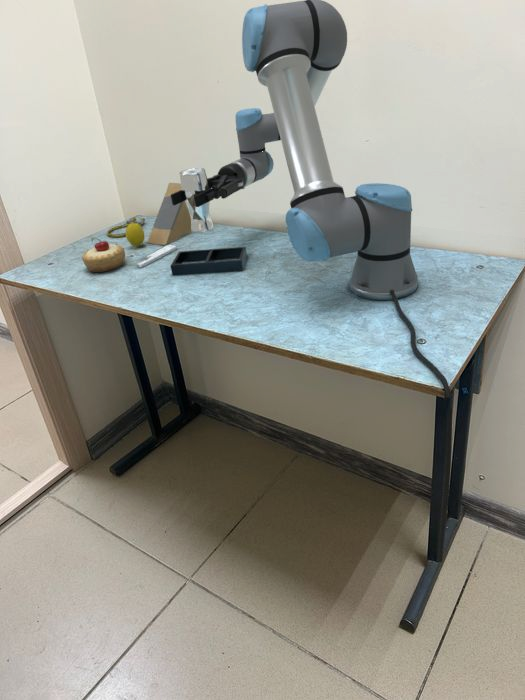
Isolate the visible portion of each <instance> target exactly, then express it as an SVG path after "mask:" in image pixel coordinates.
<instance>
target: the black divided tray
mask: <svg viewBox="0 0 525 700" xmlns="http://www.w3.org/2000/svg"><path fill="white" fill-rule="evenodd" d="M247 259H248V250H247V246H236V247H235V246H234V247H222V248H208V249H196V250H184V251H183V250H181V251H178V252H177V254H176V255H175V257H174V259H173V261H172V262H171V263H170V270H171V275H172V277H174V276H188V275H204V274H217V273H219V274H220V273H231V272H233V273H234V272H243V271H244V269H245V266H246V262H247Z"/></svg>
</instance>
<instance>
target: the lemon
mask: <svg viewBox="0 0 525 700" xmlns="http://www.w3.org/2000/svg"><path fill="white" fill-rule="evenodd" d="M125 233H126V236H125V238H126V240H127V242H128V243H129V244H130V245H131V246H134V247H136V248H140V246H141V245H142V244H143V243H144V242H145V231H144V229H143V227H142V225H139V223H136V222H131V224H129V225H127V227H125Z"/></svg>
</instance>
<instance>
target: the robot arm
mask: <svg viewBox="0 0 525 700" xmlns="http://www.w3.org/2000/svg"><path fill="white" fill-rule="evenodd" d="M241 29H242V31H241V48H242V59H243V64H244V67H245V69H246V71H248V72H251V73H254V72H255V73H256V77H257V81H258V82H259V84H260V85H262V86H264V87H266V88H267V91H268V94H269V99H270V102H271V108H272V111H273V112H270V113H262V110H261V108H258V107H253V108H245V109H241V110H238V111H237V112H236V113H235V131H236V135H237V143H238V150H239V158H238V159H236V160H235V161H232V162H230V163H228V164H226V165H223V166H222V167H220V168H219V170H218V172H217V174H215V175H213V176H211V177H207V180H208V185H209V189H208V190H206V191H204V192H201V193H199V194H197V195H195V196H194V200H195V205H196V207H199V206H201V205H203V204H205V203H207V202H209V201H210V202H211V201H213V200H214V199H215V200H218V199H220V198H221V199H223V200H224V199H227V198H228V197H230V196H231V195H233V194H235V193H237V192H238V191H240V190H245V189H246V187H248V186H250V185H252V184H254V183H256V182H258V181H260V180H263V179H265V178H266V177H267V176H269V175H270V174H271V173H272V171H273V169H274V164H275V163H274V159H273V157H272V154H270V152H268V151H267V150H266V144H268V143H272V142H273V143H274V142H279V141H280V142H281V146H282V149H283V153H284V158H285V161H286V165H287V169H288V173H289V176H290V180H291V184H292V188H293V192H294V193H293V196H292V198H291V199H290V202H289V205H290V208H289V210H287V212H286V214H285V224H286V231H287V234H288V235H287V236H288V238H289V241H290V243H291V245H292V247H293V249H294V250H295V252H296V253H297V255H298V256H299V257H300V258H301V259H302V260H304V261H306V262H316V261H321V260H323V261H326V260H328V259H331V258H335V257H338V256H343V255H348V254H352V253H356V252H357V256H356V260H355V263H354V266H353V269H352V272H351V276H350V279H349V283H350V285H349V286H350V290H351V292H352V293H353V294H355V295H356V296H358V297H361V298H364V299H367V300H374V301H393V303H394V306H395V309H396V311H397V313H398V315H399V316H400V318H401V319H402V321H403V322H404V323H405V325H406V326H407V327H408V330H409V332H410V347H411V349H412V352H413V354H414V355H415V357H417V359H419V360H420V361H421V363H423V364H424V365H426V367H428V368H429V369H430V370H431V371H432V373H433V374H434V375H435V376H436V377H437V378H438V380H439V381H440V382H441V385H442V386H443V390H444V394H445V397H446V398H452V393H451V392H452V391H451V388H450V386H449V382H448V380H447V378H446V377H445V375H444V374H443V373H442V372H441V371H440V370H439V369H438V367H437V366H436V365H435V364H433V363H432V362H431V361H430V360H429V359H428V358H426V357H425V355H423V354H422V353H421V352H420V350H419V348H418V347H417V342H416V329H415V327H414V325H413V323H412V322H411V321H410V319H409V318H408V317H407V315H406V314H405V313H404V311H403V309H402V308H401V305H400V301H399V300H398V299H401V298H405V297H408V296H409V295H411V294H413V293H414V292H415V291H416V290H417V288H418V281H419V280H418V274H417V271H416V268H415V264H414V262H413V259H412V256H411V238H412V237H411V233H412V232H411V231H412V212H413V204H412V194H411V192H410V191H409V189H407V188H405V187H403V186H400V185H398V184H391V183H380V182H379V183H378V182H376V183H372V182H371V183H364V184H360V185H358V186H356V188H355V191H354V194H355V195H352V196H348V197H347V196H346V194H345V191H344V188H343V186H342V185H341V184H339V183H337V182H335V180H334V178H333V174H332V173H333V172H332V169H331V166H330V162H329V158H328V154H327V149H326V146H325V142H324V138H323V134H322V130H321V127H320V123H319V119H318V115H317V111H316V105H317V103H318V100H319V98H320V97H321V94H322V93H323V90H324V88H325V86H326V83H327V82H328V79H329V78H330V75H331V73H332V72H333V71H334V70H336V69H337V68H338V67H339V66H340V64H341V62H342V60H343V59H344V57H345V54H346V51H347V48H348V47H347V46H348V29H347V26H346V23H345V20H344V19H343V16H342V14H341V13H340V12H339V11H338V9H336V7H335V6H333V5H332V4H331V3H329V2H327V1H325V0H298V1H290V2H284V3H275V4H269V5H268V4H267V3H264V4H263V5H260V6H256V7H251V8H249V9H248V10H247V11H246V12H245V14H244V18H243V22H242V28H241ZM262 151H263V152H262ZM171 199H172V204H173V205H177V204H179V203H181V202H183V201H185V200H184V197H183V194H182V189H181V190H180V191H178V192H175V193H173V194H171ZM445 443H446V445H445V447H446V449H445V468H444V470H445V471H444V483H443V496H442V506H441V507H442V508H441V519H440V529H439V541H438V551H437V553H438V554H437V561H438V563H442V562H443V557H444V545H445V536H446V526H447V525H446V524H447V515H448V505H449V496H450V495H449V494H450V484H451V483H450V482H451V472H452V471H451V469H452V448H453V447H452V444H453V408H447V409H446V442H445Z"/></svg>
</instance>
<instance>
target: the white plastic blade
mask: <svg viewBox="0 0 525 700" xmlns="http://www.w3.org/2000/svg"><path fill="white" fill-rule="evenodd" d="M177 249H178V247H177V246H176V245H174V244H172V245H171V244H167V245H164V246H163V247H162V248H160V249H158V250H156V251H154V252H152V253H150V254H147V255H146V256H144V257H142V258H141V260H143V261H140V262H138V263H137V265H136V266H137V267H138V268H144V267H145V266H147V265H149V264H151V263H153V262H154V261H157V260H159V259H161V258H163V257H165V256H167V255H168V254H170V253H173V252H174V251H176V250H177ZM144 259H145V260H144Z"/></svg>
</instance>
